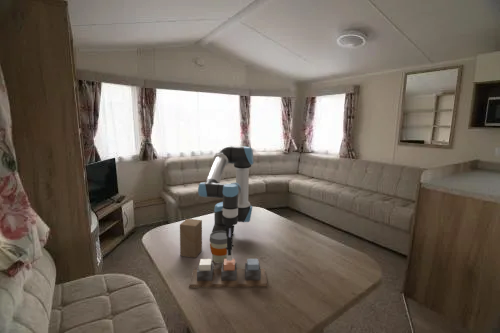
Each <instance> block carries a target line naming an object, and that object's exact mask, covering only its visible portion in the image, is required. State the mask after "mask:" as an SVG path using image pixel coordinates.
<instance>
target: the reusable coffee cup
mask: <svg viewBox="0 0 500 333" xmlns="http://www.w3.org/2000/svg"><path fill="white" fill-rule="evenodd" d="M209 242H210V243H209V248H210V253H211V259H212V261H213V263H216V264H222V263H224V259H227V249H226V247H227V236H226V231H215V232H213V233H212V232H211V233H210V234H209Z"/></svg>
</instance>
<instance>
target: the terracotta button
mask: <svg viewBox="0 0 500 333" xmlns="http://www.w3.org/2000/svg"><path fill="white" fill-rule="evenodd" d="M235 263H236V258H232V261H227V259H224V271H235Z"/></svg>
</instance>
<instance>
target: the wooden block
mask: <svg viewBox="0 0 500 333" xmlns="http://www.w3.org/2000/svg"><path fill="white" fill-rule="evenodd" d="M179 246H180V248H179V254H180V257H186V258H193V259H196V258H197V257H198V256H199V254H201V252H202V250H203V220H202V219H194V218H186V219H184V221H182V222H181V223H180V224H179Z"/></svg>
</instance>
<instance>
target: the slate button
mask: <svg viewBox="0 0 500 333" xmlns="http://www.w3.org/2000/svg"><path fill="white" fill-rule="evenodd" d="M246 263H247V270H259V264H260V262H259V259H258V258H247V259H246Z"/></svg>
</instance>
